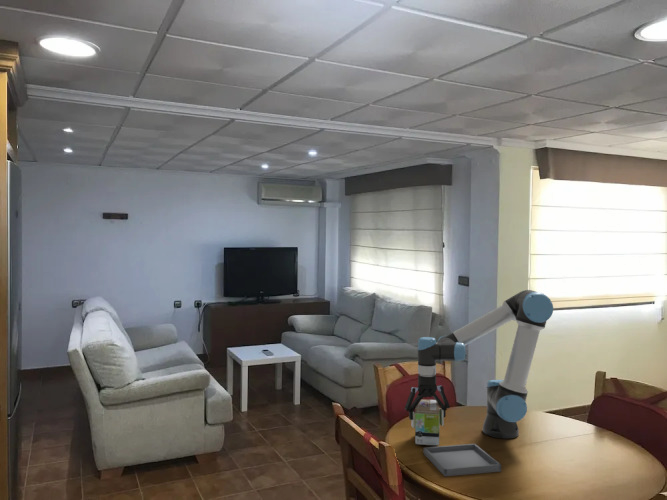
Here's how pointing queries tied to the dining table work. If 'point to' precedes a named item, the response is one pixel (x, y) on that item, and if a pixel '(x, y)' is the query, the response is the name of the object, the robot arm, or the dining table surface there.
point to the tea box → (427, 422)
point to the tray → (461, 459)
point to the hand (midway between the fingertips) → (427, 426)
